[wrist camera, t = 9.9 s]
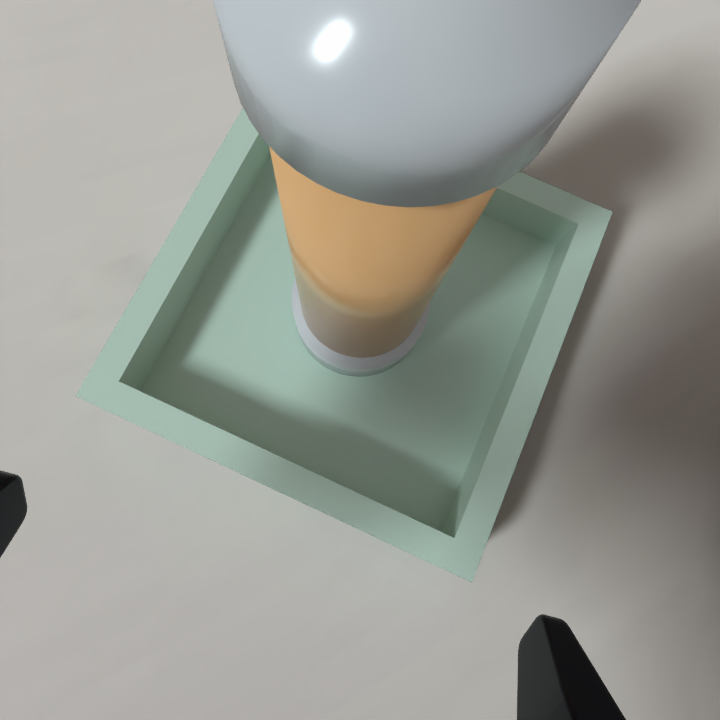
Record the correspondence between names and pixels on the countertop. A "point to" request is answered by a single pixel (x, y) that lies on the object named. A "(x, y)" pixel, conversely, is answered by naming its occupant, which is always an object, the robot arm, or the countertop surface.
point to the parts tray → (350, 393)
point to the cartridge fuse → (399, 140)
